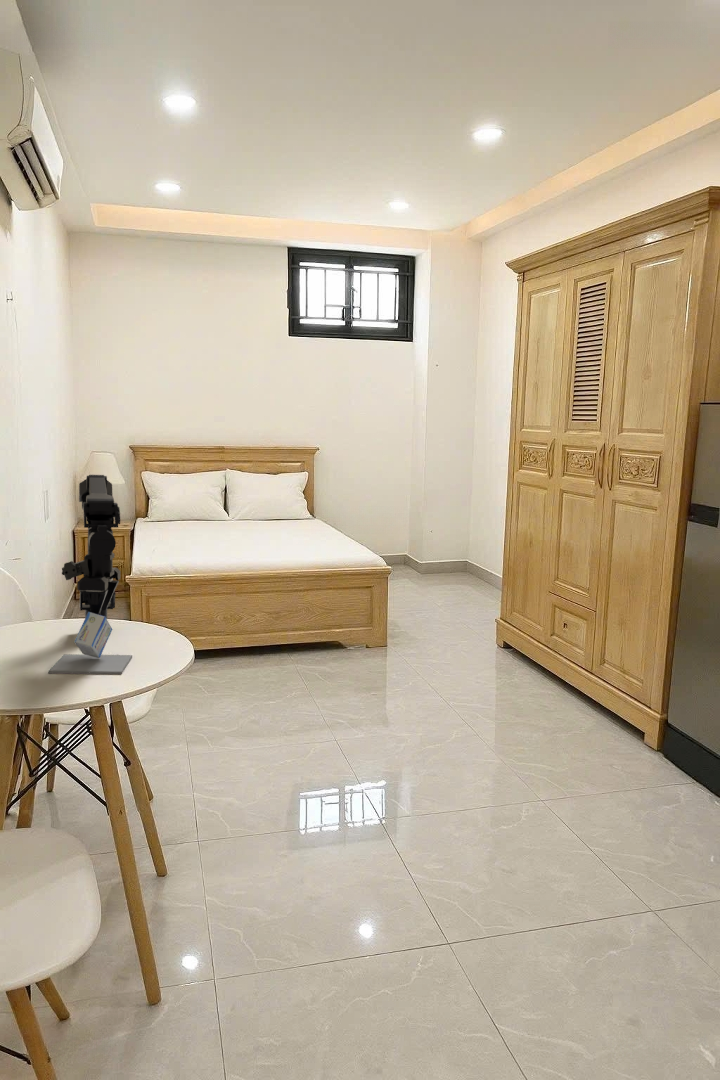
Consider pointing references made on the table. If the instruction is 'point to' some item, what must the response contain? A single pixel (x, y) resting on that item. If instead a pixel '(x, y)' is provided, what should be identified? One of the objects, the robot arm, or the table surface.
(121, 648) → the table surface
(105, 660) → the mat
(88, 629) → the medicine box
